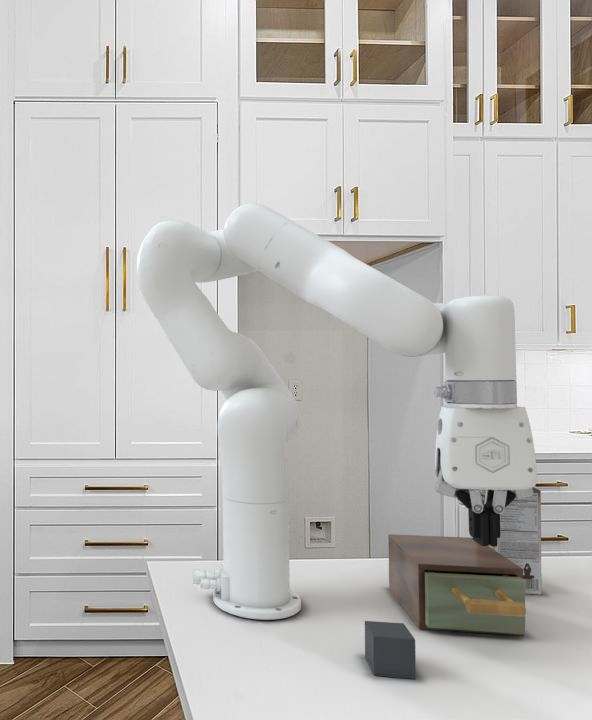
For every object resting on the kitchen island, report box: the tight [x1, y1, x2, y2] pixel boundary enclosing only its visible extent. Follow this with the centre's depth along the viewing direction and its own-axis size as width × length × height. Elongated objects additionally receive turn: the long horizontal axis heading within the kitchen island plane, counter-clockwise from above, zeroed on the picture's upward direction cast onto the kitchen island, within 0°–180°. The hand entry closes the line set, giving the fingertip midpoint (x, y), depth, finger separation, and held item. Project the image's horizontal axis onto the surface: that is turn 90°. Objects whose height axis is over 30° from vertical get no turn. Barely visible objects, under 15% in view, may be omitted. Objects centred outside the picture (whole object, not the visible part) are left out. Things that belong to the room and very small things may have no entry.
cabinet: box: [387, 533, 525, 637], centre depth 86 cm, size 15×13×9 cm
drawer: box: [425, 570, 527, 635], centre depth 80 cm, size 20×11×7 cm, turn 170°
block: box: [364, 620, 417, 680], centre depth 69 cm, size 4×4×4 cm
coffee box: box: [480, 486, 543, 596], centre depth 96 cm, size 9×6×16 cm
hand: (484, 543), depth 74 cm, fingers closed
